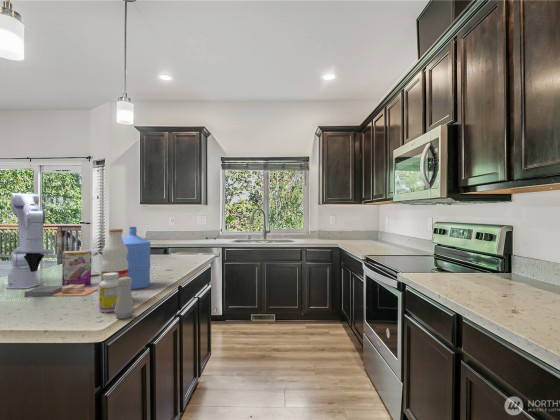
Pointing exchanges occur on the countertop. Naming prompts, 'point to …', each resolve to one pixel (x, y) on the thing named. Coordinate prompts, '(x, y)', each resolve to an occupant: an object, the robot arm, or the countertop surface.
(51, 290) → the grey square tile
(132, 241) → the water jug
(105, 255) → the fruit juice
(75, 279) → the candy bar box
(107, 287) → the supplement bottle
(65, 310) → the countertop surface
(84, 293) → the mat
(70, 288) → the oak tile
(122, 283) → the salt shaker
